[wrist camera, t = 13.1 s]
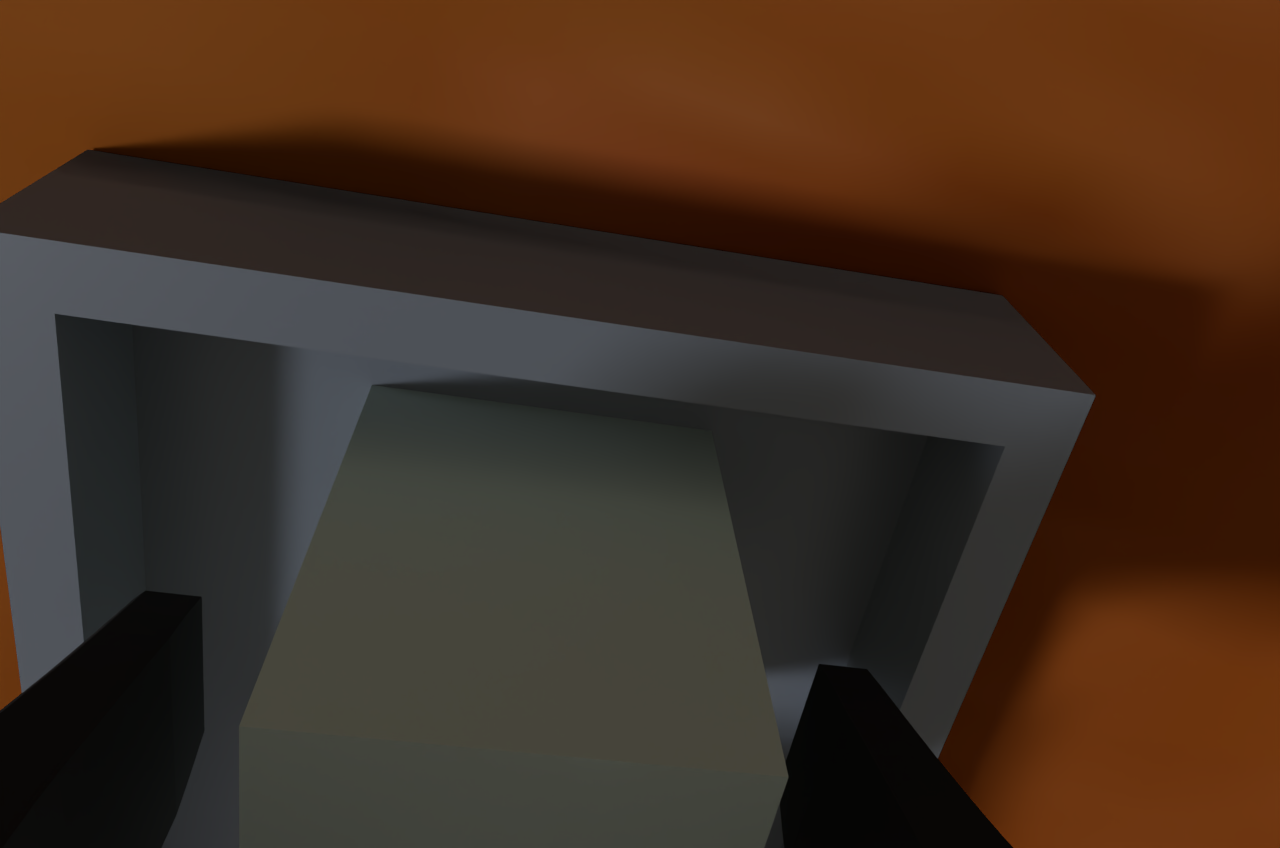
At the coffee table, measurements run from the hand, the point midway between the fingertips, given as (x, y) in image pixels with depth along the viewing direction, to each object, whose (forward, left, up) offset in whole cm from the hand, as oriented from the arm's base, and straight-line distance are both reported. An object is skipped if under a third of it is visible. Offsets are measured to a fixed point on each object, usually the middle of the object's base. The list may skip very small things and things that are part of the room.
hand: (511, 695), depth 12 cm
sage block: (0, 0, -3) cm, 3 cm away
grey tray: (-4, 0, -4) cm, 6 cm away
